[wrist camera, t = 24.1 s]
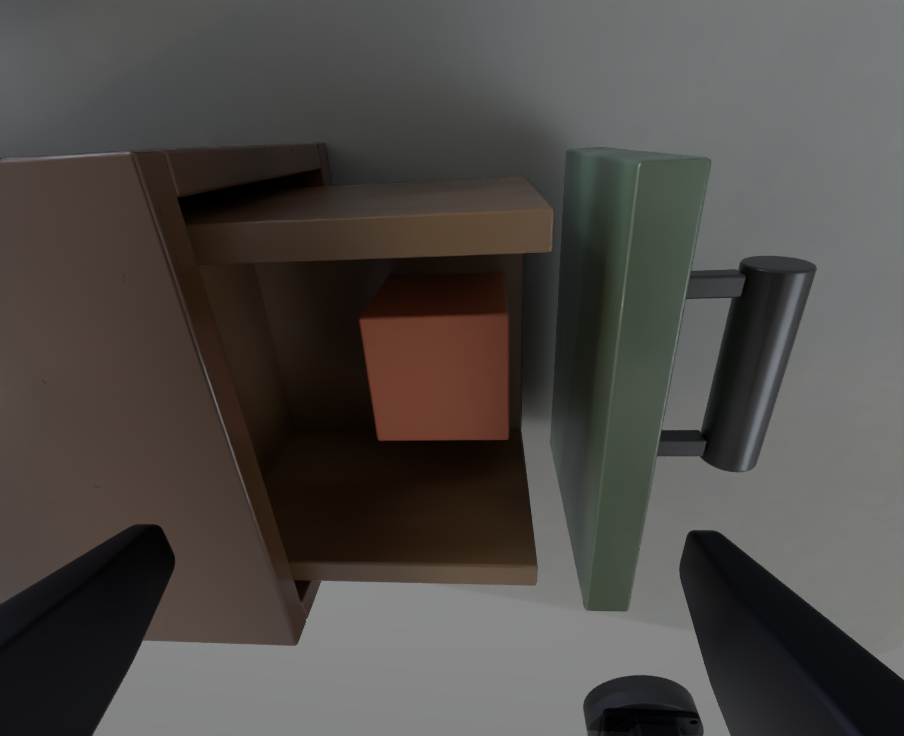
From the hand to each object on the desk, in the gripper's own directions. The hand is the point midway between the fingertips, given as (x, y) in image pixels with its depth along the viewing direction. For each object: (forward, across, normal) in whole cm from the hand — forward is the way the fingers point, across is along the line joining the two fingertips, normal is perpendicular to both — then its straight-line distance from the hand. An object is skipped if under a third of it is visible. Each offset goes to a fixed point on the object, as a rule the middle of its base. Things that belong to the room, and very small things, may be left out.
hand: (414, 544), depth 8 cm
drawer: (+11, -1, 0) cm, 11 cm away
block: (+10, 0, 0) cm, 10 cm away
